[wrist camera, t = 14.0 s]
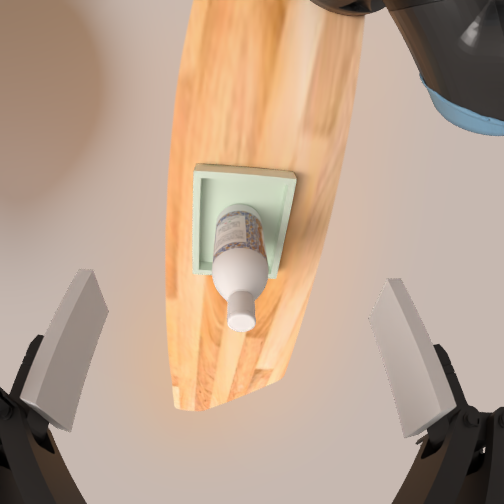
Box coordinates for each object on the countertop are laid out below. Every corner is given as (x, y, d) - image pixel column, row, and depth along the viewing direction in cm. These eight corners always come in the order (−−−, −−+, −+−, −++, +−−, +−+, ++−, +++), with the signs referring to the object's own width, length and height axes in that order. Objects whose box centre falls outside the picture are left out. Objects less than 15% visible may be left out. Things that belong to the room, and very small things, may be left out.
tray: (196, 163, 40) (193, 170, 38) (293, 171, 42) (296, 179, 39) (194, 262, 51) (192, 273, 48) (274, 267, 52) (276, 278, 50)
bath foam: (259, 242, 48) (271, 343, 32) (216, 240, 47) (208, 342, 31) (263, 203, 44) (280, 301, 28) (217, 201, 43) (207, 299, 27)
